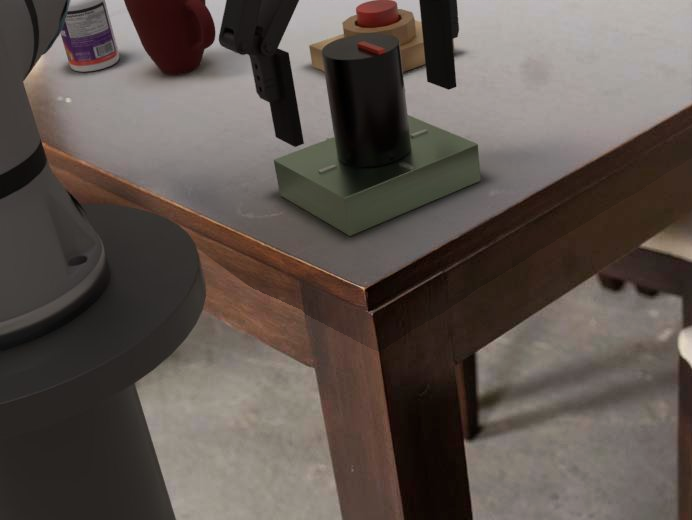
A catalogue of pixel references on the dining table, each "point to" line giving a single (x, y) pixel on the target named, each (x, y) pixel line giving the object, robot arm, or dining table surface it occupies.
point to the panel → (377, 178)
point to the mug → (173, 32)
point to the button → (377, 13)
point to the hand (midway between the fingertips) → (368, 112)
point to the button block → (403, 30)
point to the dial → (367, 99)
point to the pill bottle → (89, 36)
